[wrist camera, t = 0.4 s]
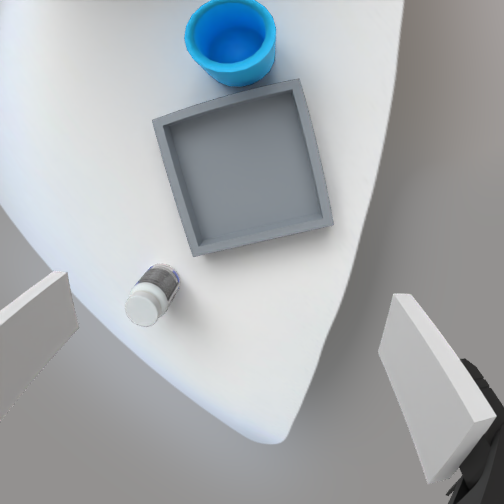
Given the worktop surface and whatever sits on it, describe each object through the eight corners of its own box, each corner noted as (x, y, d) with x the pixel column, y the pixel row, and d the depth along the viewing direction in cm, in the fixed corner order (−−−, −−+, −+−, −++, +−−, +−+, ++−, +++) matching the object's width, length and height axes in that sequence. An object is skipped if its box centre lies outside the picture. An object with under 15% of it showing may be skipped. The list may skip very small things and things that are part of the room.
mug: (277, 84, 32) (279, 69, 24) (204, 90, 32) (186, 78, 25) (269, -6, 28) (268, -38, 20) (200, 2, 28) (182, -28, 21)
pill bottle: (145, 260, 40) (118, 289, 32) (180, 264, 40) (159, 295, 32) (148, 293, 41) (124, 326, 34) (181, 297, 41) (162, 332, 33)
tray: (161, 121, 34) (151, 120, 31) (297, 83, 31) (299, 78, 29) (198, 248, 39) (193, 257, 36) (329, 218, 36) (333, 225, 34)
